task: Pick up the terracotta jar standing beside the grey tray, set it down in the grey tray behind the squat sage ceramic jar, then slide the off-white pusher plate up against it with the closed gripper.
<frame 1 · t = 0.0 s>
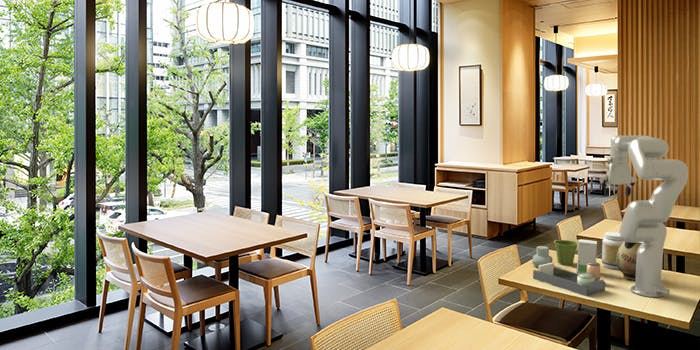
hand: (617, 195, 244), 37 cm above the table, tool pointing down, fingers open, 9 cm apart
plant pot: (565, 263, 260), on the table
ceramic jug: (632, 278, 236), on the table
terracotta jar: (592, 282, 230), on the table
pusher plate: (542, 269, 239), point 3 cm above the table, slide at 0.0 cm
sage ceramic jar: (585, 290, 220), resting in grey tray
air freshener: (542, 266, 256), on the table
supplement tub: (614, 267, 253), on the table
grey tray: (567, 284, 228), on the table
skincare box: (586, 272, 245), on the table
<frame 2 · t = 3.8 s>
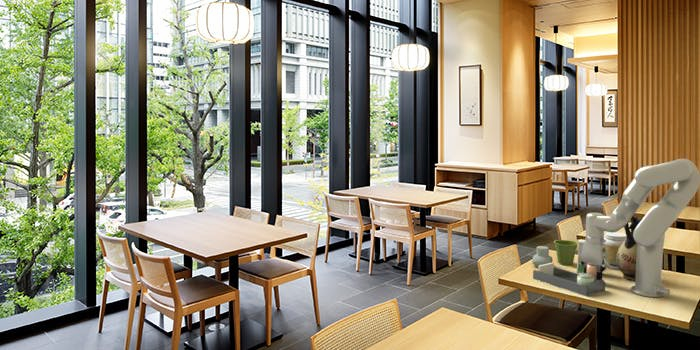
hand: (592, 277, 230), 2 cm above the table, tool pointing down, fingers closed on terracotta jar, 5 cm apart
terracotta jar: (592, 282, 230), on the table, touching gripper
everything else where it was.
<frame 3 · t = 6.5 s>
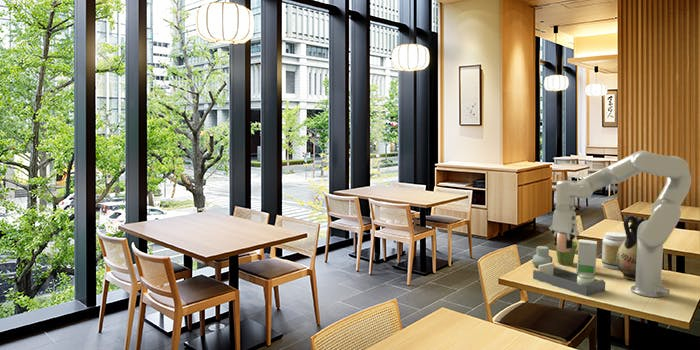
hand: (563, 246, 228), 17 cm above the table, tool pointing down, fingers closed on terracotta jar, 5 cm apart
terracotta jar: (563, 250, 229), point 15 cm above the table, touching gripper
everything else where it was.
when the fingers open (3 cm above the table, at t = 9.4 s): terracotta jar drops 1 cm, resting in grey tray.
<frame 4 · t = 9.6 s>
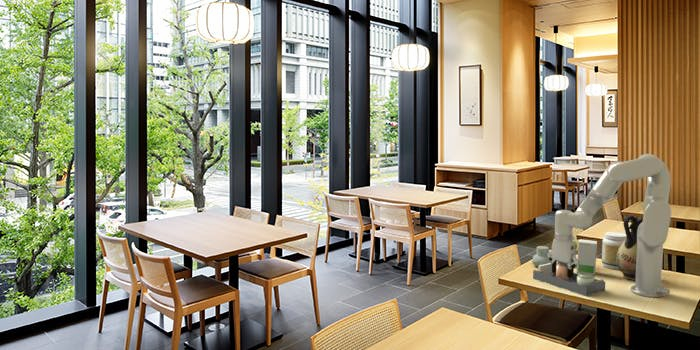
hand: (562, 274, 230), 4 cm above the table, tool pointing down, fingers open, 7 cm apart
terracotta jar: (562, 282, 230), resting in grey tray
everything else where it was.
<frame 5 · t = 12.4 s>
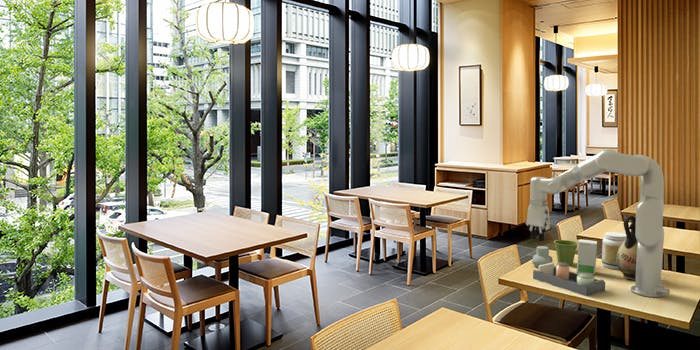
hand: (537, 239, 241), 17 cm above the table, tool pointing down, fingers open, 3 cm apart
nothing on the table moved.
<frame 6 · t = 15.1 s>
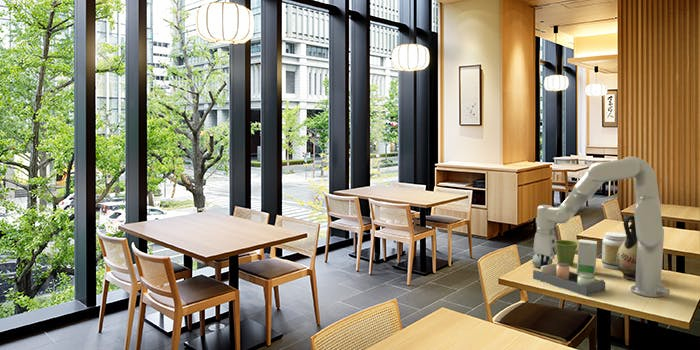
hand: (544, 268, 239), 4 cm above the table, tool pointing down, fingers closed
pusher plate: (544, 270, 238), point 3 cm above the table, slide at 1.4 cm, touching gripper
everything else where it was.
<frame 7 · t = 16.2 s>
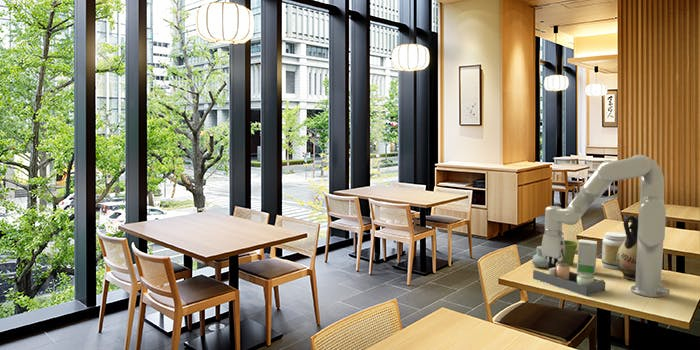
hand: (551, 270, 235), 4 cm above the table, tool pointing down, fingers closed
terracotta jar: (562, 282, 230), resting in grey tray, touching pusher plate
pusher plate: (552, 272, 234), point 3 cm above the table, slide at 5.9 cm, touching gripper, terracotta jar
everything else where it was.
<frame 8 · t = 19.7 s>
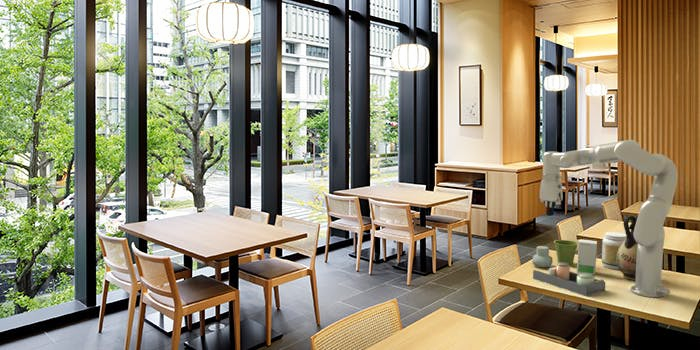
hand: (549, 215, 240), 29 cm above the table, tool pointing down, fingers closed
terracotta jar: (562, 282, 230), resting in grey tray
pusher plate: (552, 272, 234), point 3 cm above the table, slide at 6.0 cm
everything else where it was.
at the end: terracotta jar inside the target area (1.2 cm from its centre), resting in grey tray; terracotta jar tilted 0°; pusher plate slide at 6.0 cm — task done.
